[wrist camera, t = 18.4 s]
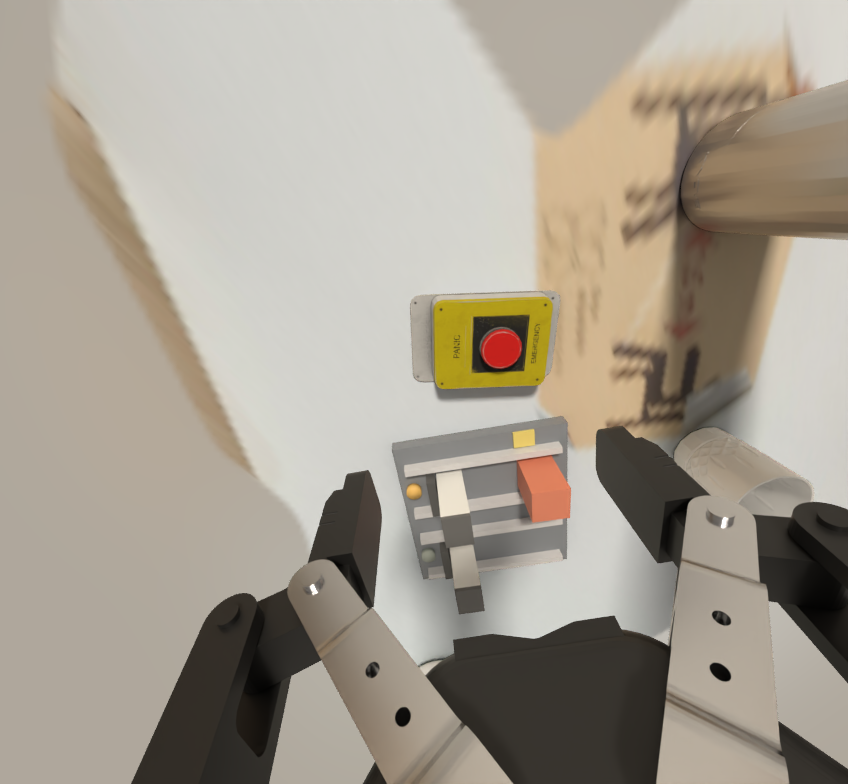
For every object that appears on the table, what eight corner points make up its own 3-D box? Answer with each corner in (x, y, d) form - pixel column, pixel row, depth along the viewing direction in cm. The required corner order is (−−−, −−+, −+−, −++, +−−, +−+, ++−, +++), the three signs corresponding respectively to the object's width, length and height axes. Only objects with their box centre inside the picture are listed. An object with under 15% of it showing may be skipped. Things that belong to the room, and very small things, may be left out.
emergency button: (563, 391, 37) (413, 397, 37) (548, 374, 41) (413, 379, 41) (577, 298, 33) (409, 303, 33) (559, 289, 37) (409, 294, 37)
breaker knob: (471, 536, 48) (481, 588, 42) (474, 557, 50) (484, 610, 43) (448, 539, 48) (454, 592, 42) (452, 561, 50) (459, 614, 43)
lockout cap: (550, 481, 45) (569, 517, 40) (517, 485, 45) (532, 522, 40) (550, 454, 43) (570, 488, 38) (516, 459, 43) (531, 494, 38)
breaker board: (562, 416, 43) (576, 434, 39) (562, 549, 52) (573, 573, 49) (392, 443, 44) (390, 463, 40) (423, 569, 53) (424, 595, 50)
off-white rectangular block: (461, 469, 43) (470, 515, 37) (465, 495, 45) (474, 544, 39) (435, 473, 44) (440, 520, 37) (440, 499, 45) (446, 548, 39)
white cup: (730, 412, 43) (814, 464, 34) (737, 460, 47) (815, 520, 38) (662, 438, 45) (726, 495, 36) (674, 484, 48) (735, 547, 39)
